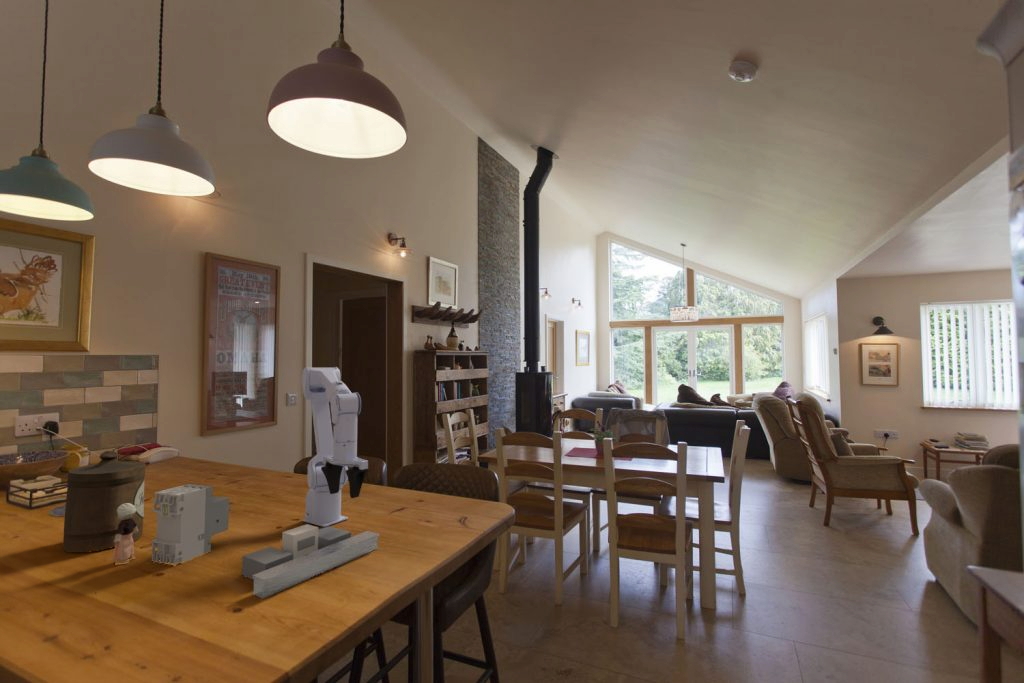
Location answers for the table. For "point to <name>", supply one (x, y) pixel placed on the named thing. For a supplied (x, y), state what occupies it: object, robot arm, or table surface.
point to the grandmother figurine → (125, 534)
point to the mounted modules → (275, 556)
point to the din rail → (313, 564)
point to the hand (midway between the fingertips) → (344, 495)
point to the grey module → (300, 540)
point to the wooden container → (101, 502)
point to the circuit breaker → (187, 522)
